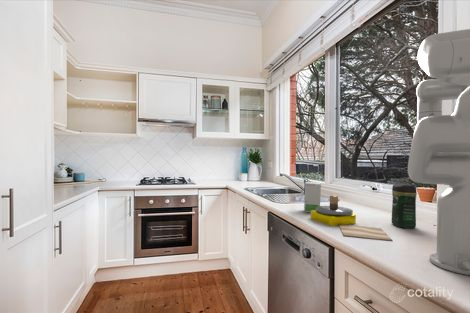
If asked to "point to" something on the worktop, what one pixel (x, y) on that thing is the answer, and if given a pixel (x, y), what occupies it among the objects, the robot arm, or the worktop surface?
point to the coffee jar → (404, 205)
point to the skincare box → (312, 196)
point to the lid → (334, 208)
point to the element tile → (333, 218)
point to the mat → (364, 232)
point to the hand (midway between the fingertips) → (428, 162)
